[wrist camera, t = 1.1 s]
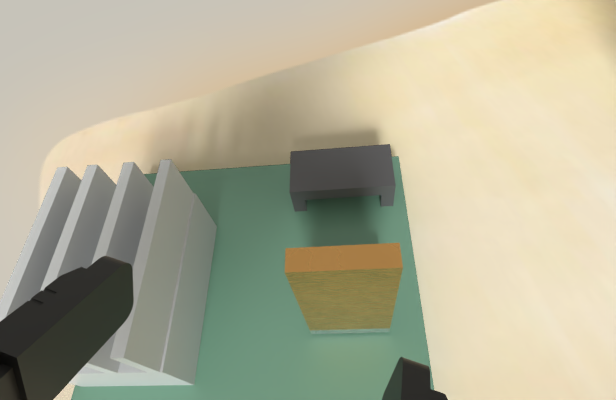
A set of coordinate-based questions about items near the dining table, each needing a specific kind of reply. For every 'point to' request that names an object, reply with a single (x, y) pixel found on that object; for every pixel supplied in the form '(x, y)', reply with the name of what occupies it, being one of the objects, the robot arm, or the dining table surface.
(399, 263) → the upright wooden plank
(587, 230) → the dining table surface
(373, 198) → the heatsink board
